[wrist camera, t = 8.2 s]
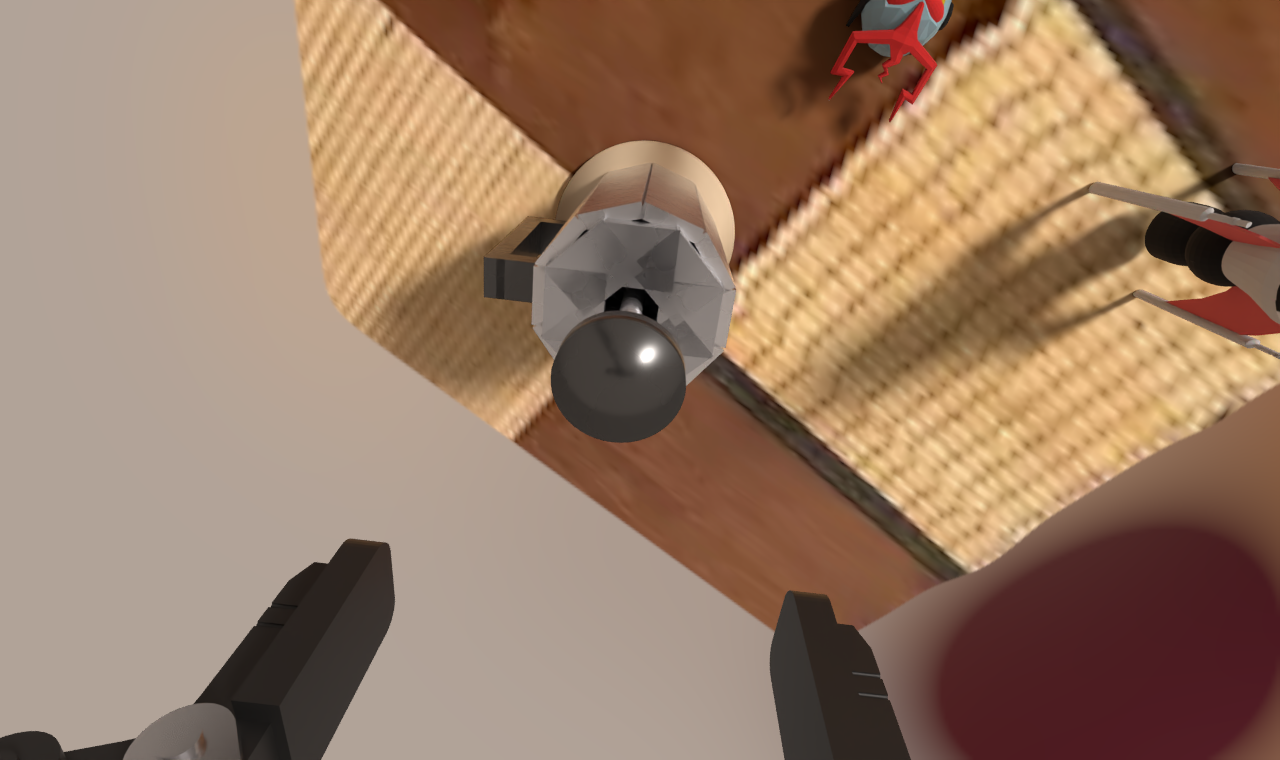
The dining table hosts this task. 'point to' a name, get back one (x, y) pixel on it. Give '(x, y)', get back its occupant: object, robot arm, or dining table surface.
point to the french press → (623, 262)
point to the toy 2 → (1217, 259)
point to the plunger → (620, 372)
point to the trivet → (652, 153)
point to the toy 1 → (896, 36)
